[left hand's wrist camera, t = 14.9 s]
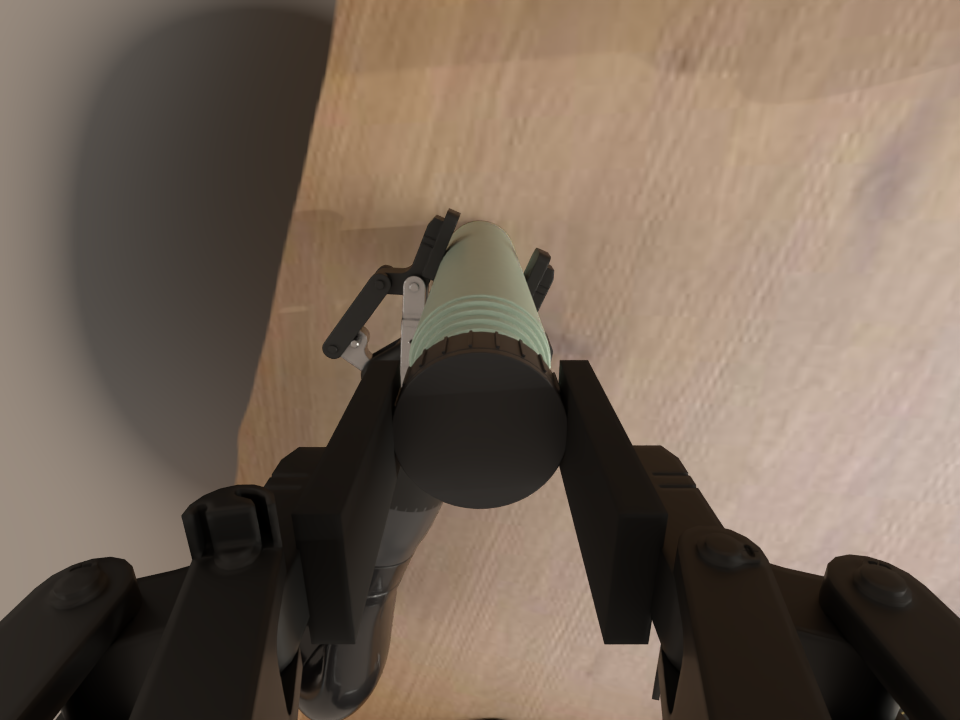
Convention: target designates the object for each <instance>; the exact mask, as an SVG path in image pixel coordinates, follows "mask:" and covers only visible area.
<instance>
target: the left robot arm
mask: <svg viewBox="0 0 960 720" xmlns="http://www.w3.org/2000/svg"><path fill="white" fill-rule="evenodd" d="M559 386H560V389H561V392H560V395H561V398H562V401H563V404H564V407H565V410H566V414H567V435H566V449H565V453H564V456H563V459H562V461H561V463H560V465H559V467H560V471H561V475H562V479H563V483H564V487H565V491H566V495H567V499H568V502H569V506H570V510H571V514H572V518H573V522H574V526H575V530H576V534H577V538H578V542H579V546H580V550H581V554H582V558H583V562H584V566H585V569H586V573H587V577H588V581H589V585H590V589H591V593H592V597H593V601H594V605H595V609H596V613H597V617H598V621H599V625H600V629H601V633H602V636H603V640H604V644H648V642H649V636H650V629H651V623H652V621H653V624H654V626H655V629H656V632H657V634H658V637H659V640H660V643H661V647H660V653H659V658H658V664H657V670H656V676H655V682H654V688H653V695H652V699H655V700H659V697H661V707H662V717H663V720H906V718H905V717H904V716H903V715H902V713H901V712H900V711H899V709H900V708H901V709H902V711H903V712H904V713H905V714H906V716H907V717H908V718H909V720H960V618H959V617H958V616H957V615H956V614H955V613H953V612H952V611H951V610H950V609H949V608H948V607H947V606H946V605H945V604H944V603H943V602H942V601H941V600H940V599H939V598H938V597H937V596H935V595H934V594H933V593H932V592H931V591H930V590H929V589H928V588H927V587H926V586H925V585H923V584H922V583H921V582H919V581H918V580H917V579H915V578H914V577H913V576H912V575H910V574H909V573H907V572H905V571H903V570H901V569H899V568H897V567H895V566H893V565H891V564H889V563H887V562H884V561H881V560H877V559H874V558H871V557H867V556H858V555H844V556H839V557H835V558H834V559H833V560H832V561H831V562H829V563H828V565H827V568H826V572H825V575H824V576H819V575H815V574H810V573H806V572H801V571H797V570H792V569H788V568H784V567H780V566H777V565H773V564H770V563H769V561H768V559H767V557H766V556H765V554H764V553H763V551H762V550H761V549H760V547H758V546H757V545H756V544H755V543H753V542H752V541H751V540H749V539H748V538H747V537H745V536H743V535H741V534H738V533H736V532H734V531H732V530H729V529H725V528H724V527H723V525H722V524H721V522H720V521H719V519H718V518H717V516H716V515H715V513H714V512H713V510H712V509H711V507H710V506H709V504H708V503H707V501H706V499H705V498H704V496H703V495H702V493H701V492H700V490H699V489H698V488H696V484H695V483H694V481H693V480H692V478H691V476H688V472H687V470H686V469H685V467H684V466H683V464H682V463H681V461H680V460H679V458H678V457H676V456H675V455H673V454H672V453H671V452H669V451H668V450H666V449H665V448H664V447H662V446H632V444H631V442H630V440H629V438H628V436H627V434H626V432H625V430H624V428H623V426H622V424H621V423H620V421H619V419H618V417H617V415H616V413H615V411H614V409H613V407H612V405H611V403H610V402H609V400H608V398H607V396H606V394H605V392H604V390H603V388H602V386H601V384H600V382H599V380H598V379H597V377H596V375H595V373H594V371H593V369H592V367H591V365H590V363H589V361H588V360H560V367H559ZM400 387H401V373H400V360H372V361H371V363H370V365H369V366H368V368H367V370H366V372H365V374H364V376H363V378H362V380H361V382H360V384H359V386H358V387H357V389H356V391H355V393H354V395H353V397H352V399H351V401H350V403H349V405H348V407H347V408H346V410H345V412H344V414H343V416H342V418H341V420H340V422H339V424H338V426H337V428H336V430H335V431H334V433H333V435H332V437H331V439H330V441H329V443H328V445H327V447H299V448H297V449H296V450H294V451H293V452H292V453H290V454H289V455H287V456H286V457H285V458H283V459H282V460H281V461H280V463H279V464H278V466H277V467H276V469H275V470H274V472H273V474H272V477H270V478H269V480H268V481H267V483H266V484H265V486H264V487H261V486H257V485H234V486H230V487H226V488H221V489H218V490H216V491H213V492H211V493H208V494H206V495H204V496H202V497H201V498H199V499H198V500H196V501H195V502H193V503H192V504H191V505H189V507H188V508H187V509H186V510H185V512H184V513H183V514H182V520H183V524H184V528H185V532H186V536H187V540H188V544H189V548H190V552H191V556H192V562H191V565H190V566H187V567H184V568H180V569H177V570H173V571H169V572H164V573H160V574H155V575H151V576H146V577H142V578H137V579H136V576H135V573H134V570H133V567H132V565H130V564H129V563H128V562H127V561H126V560H125V559H120V558H114V557H105V558H96V559H91V560H87V561H84V562H81V563H78V564H75V565H72V566H70V567H68V568H66V569H64V570H62V571H60V572H58V573H56V574H54V575H52V576H51V577H50V578H48V579H47V580H46V581H44V582H43V583H42V584H40V585H39V586H38V587H36V588H35V589H34V590H33V591H32V592H31V593H30V594H29V595H28V596H27V597H26V598H24V599H23V600H22V601H21V602H20V603H19V604H18V605H17V606H16V607H15V608H14V609H13V610H12V611H11V612H10V613H9V614H8V615H7V616H6V617H4V618H3V619H2V620H1V621H0V720H53V719H54V718H55V716H56V715H57V714H58V713H59V711H60V710H61V713H60V715H59V716H58V717H57V719H56V720H297V718H298V708H299V698H300V688H301V678H302V668H303V666H302V659H301V653H300V647H299V644H300V642H301V639H302V636H303V633H304V631H305V628H306V625H307V623H308V625H309V632H310V638H311V644H355V643H356V639H357V635H358V631H359V627H360V623H361V619H362V615H363V611H364V608H365V604H366V600H367V596H368V592H369V588H370V584H371V580H372V576H373V572H374V568H375V564H376V560H377V556H378V552H379V548H380V544H381V541H382V537H383V533H384V529H385V525H386V521H387V517H388V513H389V509H390V505H391V501H392V497H393V493H394V489H395V485H396V481H397V477H398V474H399V470H400V466H401V465H400V463H399V462H398V459H397V457H396V454H395V452H394V441H393V426H392V417H393V412H394V409H395V408H394V404H395V401H396V398H397V395H398V392H399V389H400Z"/></svg>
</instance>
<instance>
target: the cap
mask: <svg viewBox="0 0 960 720" xmlns="http://www.w3.org/2000/svg"><path fill="white" fill-rule="evenodd" d="M560 392H561V389H560V386H559V383H558V380H557V377H556V374H555V372H553V373H552V372H551V370H550V368H549V367H548V365H547V364H546V363H545V361H544V360H543V357H542V355H541V354H537V353H536V352H535V351H534V350H533V349H531V348H530V347H528V346H527V345H526V344H524V343H523V342H522V340H521V339H519V341H518V340H516V339H514V338H511V337H509V336H506V335H502V334H498V332H497V331H495V333H492V332H473V331H472V330H469V332H468V333H461V334H458V335H454V336H451V337H448V336H446V337H444V339H443V340H441V341H439V342H438V343H436V344H434V345H432V346H431V347H430V348H428V349H426V348H425V349H424V350H423V353H422V354H421V355H420V356H419V357H418V358H417V359H416V361H415V362H414V363H413V365H412V366H411V367H410V366H409V367H408V369H407V372H406V374H405V377H404V380H403V383H402V387H400V389H399V392H398V395H397V398H396V401H395V404H394V408H395V409H394V412H393V417H392V426H393V441H394V452H395V454H396V457H397V459H398V462H399V463H400V465H401V467H402V469H403V470H404V472H405V473H406V474H407V476H408V477H409V478H410V479H411V480H412V481H413V482H414V483H415V484H416V485H417V486H418V487H419V488H420V489H422V490H423V491H424V492H426V493H427V494H429V495H431V496H432V497H434V498H436V499H438V500H440V501H443V502H445V503H448V504H451V505H454V506H459V507H464V508H473V509H488V508H496V507H501V506H505V505H509V504H512V503H514V502H517V501H520V500H522V499H524V498H526V497H528V496H529V495H531V494H532V493H534V492H535V491H537V490H538V489H539V488H540V487H542V486H543V485H544V484H545V483H546V482H547V481H548V480H549V479H550V478H551V477H552V475H553V474H554V472H555V471H556V470H557V468H558V466H559V465H560V463H561V461H562V459H563V456H564V453H565V449H566V435H567V414H566V410H565V407H564V404H563V401H562V398H561V395H560Z"/></svg>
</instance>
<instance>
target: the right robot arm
mask: <svg viewBox="0 0 960 720" xmlns="http://www.w3.org/2000/svg"><path fill="white" fill-rule="evenodd" d="M460 214H461V213H459V212H457V211H454V210H452V209H450V208H449V210H448V212H447V214H446V217H445V218H443V217H441V216H439V215H436V216H435V217H434V218H433V219H432V220H431V222H430V223H429V224H428V226H427V229H426V231H425V234H424V236H423V239H422V242H421V244H420V247H419V249H418V252H417V254H416V257H415V260H414V262H413V264H412V265H411V266H410V267H408V268H393V267H392V266H389V265H383V266H381V267H380V268H379V269H378V270H377V271H376V273H375V274H374V275H373V276H372V277H371V278H370V279H369V281H368V282H367V284H366V285H365V286H364V288H363V289H362V291H361V292H360V293H359V295H358V296H357V298H356V299H355V300H354V302H353V303H352V305H351V306H350V307H349V309H348V310H347V312H346V313H345V314H344V316H343V317H342V319H341V320H340V321H339V323H338V324H337V326H336V327H335V328H334V330H333V331H332V332H331V334H330V335H329V337H328V338H327V339H326V341H325V342H324V344H323V347H322V349H323V352H324V354H325V355H326V356H327V357H329V358H331V359H337V358H339V357H342V358H343V359H345V360H346V361H348V362H349V363H351V364H352V365H354V366H355V367H357V368H358V369H359V370H361V379H362V378H363V376H364V374H365V372H366V370H367V368H368V366H369V365H370V363H371V361H372V360H400V373H401V387H402V383H403V380H404V377H405V374H406V372H407V369H408V367H409V351H410V347H411V342H412V340H413V337H414V334H415V331H416V329H417V326H418V323H419V320H420V318H421V315H422V312H423V309H424V307H425V304H426V301H427V298H428V295H429V282H430V280H433V281H434V278H435V276H436V273H437V271H438V268H439V266H440V263H441V261H442V259H443V256H444V254H445V251H446V249H447V246H448V244H449V241H450V239H451V237H452V234H453V232H454V229H455V227H456V224H457V222H458V219H459V217H460ZM550 259H551V256H550V255H549V254H548V252H545V251H543V250H541V249H539V248H536V249H535V251H534V252H533V254H532V257H531V259H530V261H529V263H528V265H527V267H526V269H525V271H524V277H525V280H526V282H527V285H528V288H529V291H530V293H531V296H532V299H533V302H534V304H535V307H536V310H537V312H538V310H539V308H540V306H541V304H542V302H543V300H544V298H545V296H546V294H547V292H548V290H549V288H550V286H551V284H552V282H553V278H554V270H553V268H552V266H551V265H549V262H550ZM386 294H397V295H403V316H402V323H401V338H399V339H398V340H396V341H394V342H392V343H391V344H389V345H387V346H386V347H384V348H382V349H380V350H379V351H377V352H375V353H373V354H372V353H370V351H369V350H368V341H369V339H370V333H369V331H368V329H367V328H365V327H364V324H365V323H366V322H367V320H368V319H369V318H370V316H371V315H372V313H373V312H374V311H375V309H376V308H377V307H378V305H379V304H380V303H381V301H382V300H383V298H384V297H385V296H386ZM545 335H546V337H547V340H548V344H549V348H550V354H551V359H552V355H553V350H552V347H551V344H550V342H549V339H548V336H547V334H546V333H545ZM442 503H443V501H440V500H438V499H436V498H434V497H432V496H431V495H429V494H427V493H426V492H424V491H423V490H422V489H420V488H419V487H418V486H417V485H416V484H415V483H414V482H413V481H412V480H411V479H410V478H409V477H408V476H407V474H406V473H405V472H404V470H403V469H402V467H401V466H400V470H399V474H398V477H397V481H396V485H395V489H394V493H393V497H392V501H391V505H390V509H389V513H388V517H387V521H386V525H385V529H384V533H383V537H382V541H381V544H380V548H379V552H378V556H377V560H376V564H375V568H374V572H373V576H372V580H371V584H370V588H369V592H368V596H367V600H366V604H365V608H364V611H363V615H362V619H361V623H360V627H359V631H358V635H357V639H356V643H355V644H311V638H310V632H309V625H308V623H307V625H306V628H305V631H304V633H303V636H302V639H301V642H300V644H299V647H300V653H301V659H302V666H303V668H302V678H301V688H300V698H299V708H298V709H299V710H300V711H301V712H302V713H303V714H304V715H305V716H306V717H308V718H309V719H310V720H344V719H345V718H347V717H349V716H351V715H352V714H353V713H355V712H356V711H357V710H358V709H359V708H360V707H361V706H362V705H363V704H364V703H365V702H366V700H367V699H368V698H369V696H370V695H371V693H372V692H373V690H374V689H375V687H376V685H377V683H378V681H379V679H380V677H381V674H382V672H383V669H384V666H385V663H386V660H387V656H388V651H389V646H390V639H391V631H392V622H393V614H394V607H395V601H396V592H397V587H398V585H399V583H400V581H401V579H402V577H403V575H404V572H405V570H406V568H407V566H408V564H409V562H410V560H411V558H412V556H413V554H414V552H415V550H416V548H417V547H418V545H419V544H420V542H421V541H422V539H423V538H424V537H425V535H426V534H427V532H428V531H429V529H430V527H431V525H432V524H433V522H434V520H435V518H436V516H437V514H438V512H439V510H440V507H441V505H442Z"/></svg>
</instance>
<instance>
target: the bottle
mask: <svg viewBox="0 0 960 720" xmlns="http://www.w3.org/2000/svg"><path fill="white" fill-rule="evenodd" d="M469 330H472V331H473V332H492V333H495V331H497V332H498V334H502V335H506V336H509V337H511V338H514V339H516V340H518V341H519V339H521V340H522V342H523V343H524V344H526V345H527V346H528V347H530V348H531V349H533V350H534V351H535V352H536V353H537V354H541V355H542V357H543V360H544V361H545V363H546V364H547V365H548V367H549V368H551V354H550V348H549V344H548V340H547V337H546V335H545V332H544V329H543V326H542V324H541V321H540V318H539V315H538V313H537V310H536V307H535V304H534V302H533V299H532V296H531V293H530V291H529V288H528V285H527V282H526V280H525V277H524V274H523V271H522V269H521V266H520V263H519V260H518V258H517V255H516V252H515V249H514V247H513V244H512V241H511V239H510V238H509V236H508V235H507V233H506V232H505V231H504V230H503V229H501V228H500V227H499V226H497V225H495V224H493V223H490V222H486V221H474V222H470V223H467V224H465V225H463V226H461V227H460V228H458V229H457V230H456V231H455V232H454V233H453V235H452V237H451V239H450V241H449V244H448V246H447V249H446V251H445V254H444V256H443V259H442V261H441V263H440V266H439V268H438V271H437V274H436V277H435V279H434V282H433V285H432V287H431V290H430V293H429V296H428V298H427V301H426V304H425V307H424V309H423V312H422V315H421V318H420V320H419V323H418V326H417V329H416V331H415V334H414V337H413V340H412V342H411V347H410V351H409V366H410V367H411V366H412V365H413V363H414V362H415V361H416V359H417V358H418V357H419V356H420V355H421V354H422V353H423V350H424V349H425V348H426V349H428V348H430V347H431V346H432V345H434V344H436V343H438V342H439V341H441V340H443V339H444V337H446V336H448V337H451V336H454V335H458V334H461V333H468V332H469Z"/></svg>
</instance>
